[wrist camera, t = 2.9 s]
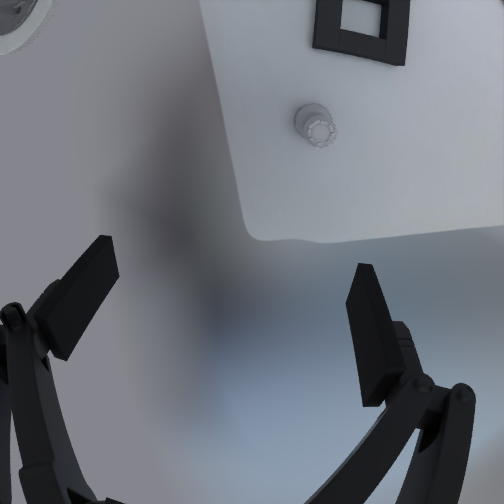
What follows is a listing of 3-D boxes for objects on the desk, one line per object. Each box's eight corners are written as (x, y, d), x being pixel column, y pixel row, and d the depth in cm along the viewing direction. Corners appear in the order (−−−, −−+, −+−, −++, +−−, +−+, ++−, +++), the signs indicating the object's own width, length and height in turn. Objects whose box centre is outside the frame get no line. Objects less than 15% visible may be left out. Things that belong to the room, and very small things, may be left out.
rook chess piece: (324, 144, 35) (334, 162, 28) (289, 132, 35) (291, 146, 28) (337, 111, 33) (351, 120, 26) (301, 98, 32) (306, 103, 26)
